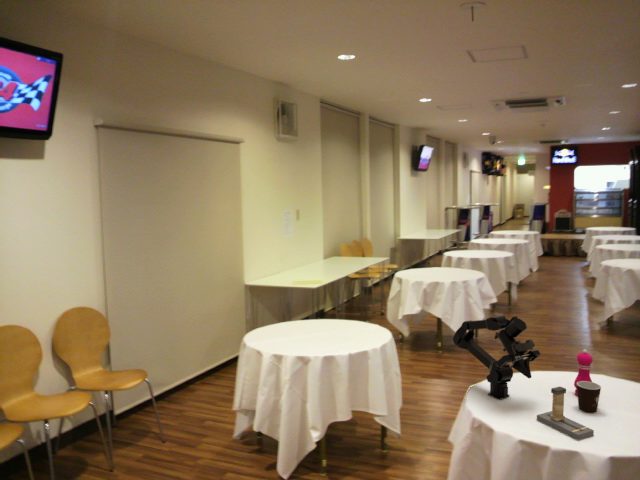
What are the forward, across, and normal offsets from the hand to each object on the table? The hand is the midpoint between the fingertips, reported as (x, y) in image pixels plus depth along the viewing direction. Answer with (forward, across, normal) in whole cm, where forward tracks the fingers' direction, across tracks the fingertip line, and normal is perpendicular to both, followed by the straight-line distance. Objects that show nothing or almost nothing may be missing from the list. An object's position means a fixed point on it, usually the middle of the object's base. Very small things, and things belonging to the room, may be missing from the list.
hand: (530, 377), depth 207 cm
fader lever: (+17, 0, -2) cm, 17 cm away
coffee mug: (+17, +23, +3) cm, 28 cm away
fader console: (+21, 0, -2) cm, 21 cm away
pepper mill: (+9, +32, +10) cm, 35 cm away
